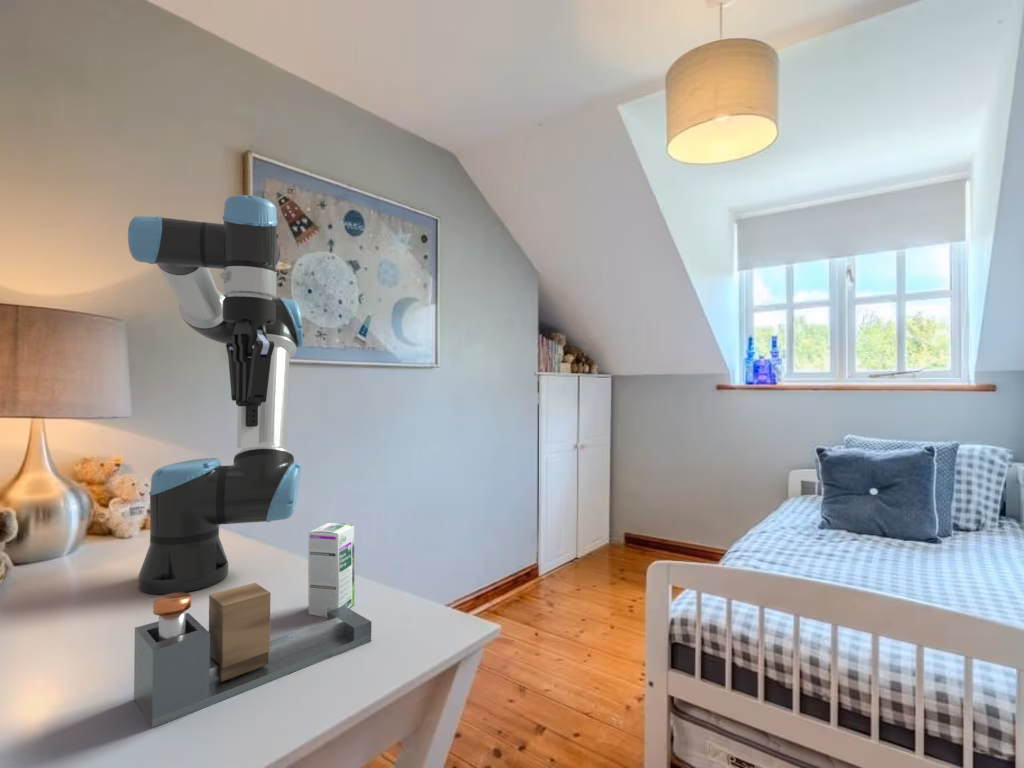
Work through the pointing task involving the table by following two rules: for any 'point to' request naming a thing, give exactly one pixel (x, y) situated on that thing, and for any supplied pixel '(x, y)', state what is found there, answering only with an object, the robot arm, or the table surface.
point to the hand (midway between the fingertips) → (247, 446)
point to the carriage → (239, 629)
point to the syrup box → (330, 568)
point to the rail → (195, 679)
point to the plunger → (171, 614)
